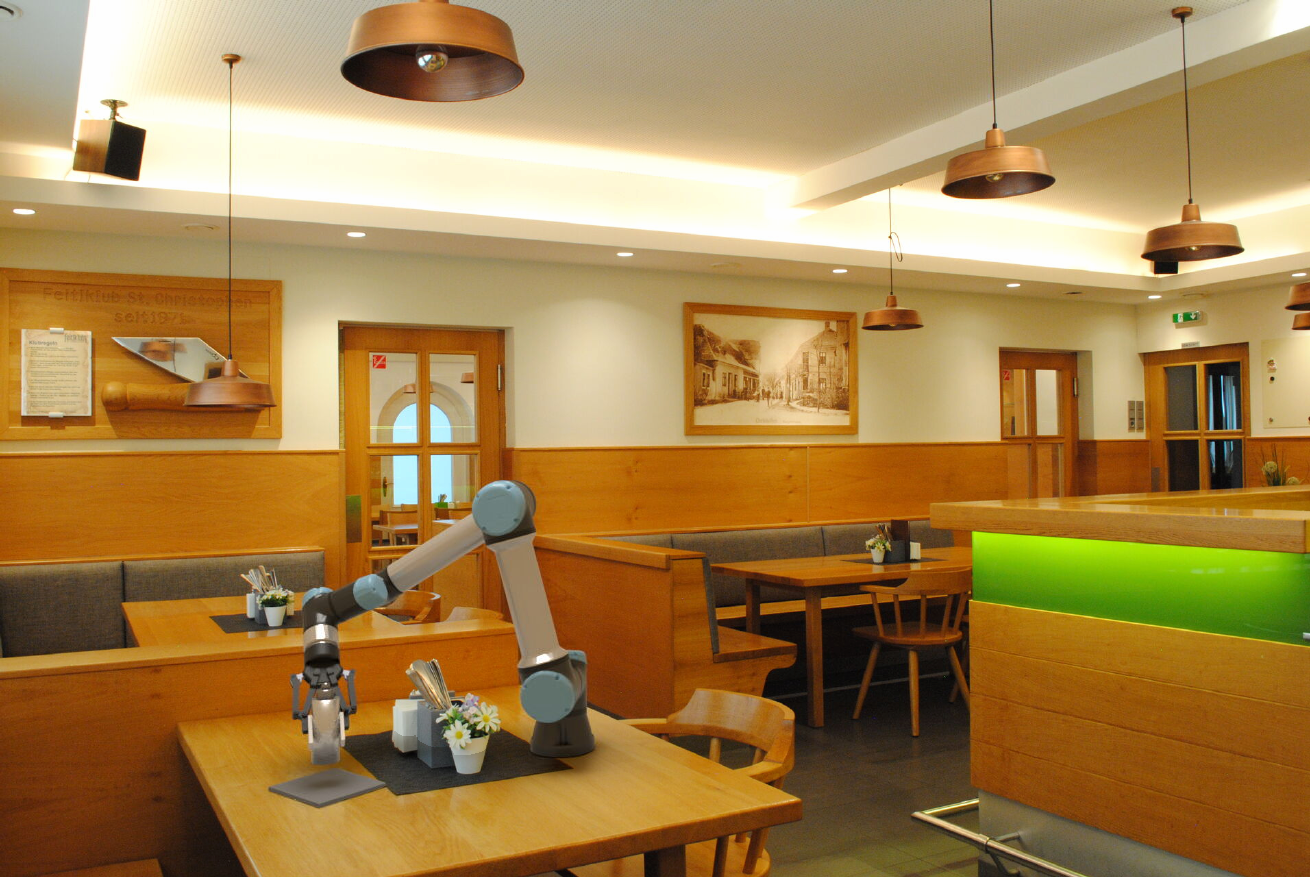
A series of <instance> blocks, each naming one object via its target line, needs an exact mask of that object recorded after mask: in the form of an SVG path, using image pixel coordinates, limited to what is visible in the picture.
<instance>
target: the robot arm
mask: <svg viewBox="0 0 1310 877" xmlns="http://www.w3.org/2000/svg"><path fill="white" fill-rule="evenodd" d="M537 503H538V502H537V498H536V495H535V493H534V491H533V490H532V489H531V487H530V486H528V485H527V484H526V483H524V482H522V481H520V480H519V481H518V480H514V479H513V480H511V479H510V480H502V479H501V480H495V481H493V482H490V483H488V484H486V485H485V486H483V487H482V488H481V489H480V490H479V491H478V492H477V493H476V495H475V497H474V498H473V501H472V506H471V513H470V514H468V515H467V516H465V517H464V518H462V519H460V520H459V521H457V522H455V523H453V524H452V525H451V526H449V527H448V528H446V529H444V530H443V531H442V532H439V533H438V534H437V535H435V536H433V537H432V538H430V539H429V540H427V541H425V542H424V543H422V544H421V545H419V546H417V547H416V548H415V549H413V550H411V551H409V552H408V553H407V554H405V555H403V556H402V557H400V558H398V559H397V560H395V561H393V562H392V563H390V564H389V565H387V566H386V567H384V568H382V569H381V570H379V571H378V572H376V573H371V574H368V575H364V576H362V577H359V578H357V580H354V581H352V582H349V583H347V584H346V585H343V586H342V587H339V588H338V589H336V590H333V589H331V588H329V587H325V586H320V587H319V588H317V587H314V588H311V589H309V590H308V591H306V592H305V593H304V594H303V597H302V600H301V610H300V611H301V612H300V614H301V620H302V631H303V632H302V641H303V642H302V643H303V644H302V648H303V649H302V650H303V670H302V671H301V673H299V674H296V673H291V674H290V676H289V677H290V678H289V684H290V686H291V688H292V712H291V713H292V714H291V715H292V716H291V717H292V720H293V721H297V720H299V721H300V722H301V734H302V735H307V742H308V743H307V746H308V747H307V748H308V751H311V750H312V749H313V732H312V714H310V712H311V711H312V698H315V697H316V695H317V689H318V688H321V685H322V684H323V683H324V682H328V683H329V684H330V687H334V688H335V696H339V697H340V747H345V744H346V732H345V731H349V729H350V716H351V715H356V714H357V711H358V702H357V701H358V700H357V693H356V686H355V677H356V669H355V668H351V669H350V670H347V669H344V668H343V666H342V665H341V652H340V641H339V640H340V639H339V625H340V624H343V623H345V622H348V621H349V620H352V619H354V618H357V617H359V616H361V615H364V614H366V613H368V612H371V611H374V610H375V609H378V608H380V607H382V606H386V605H388V604H390V603H393V602H394V601H395V600H396V599H397V598H398V597H401V596H402V595H403V594H404V593H406V592H407V591H409V590H411V589H412V588H413V587H415V586H417V585H419V584H420V583H422V582H424V581H425V580H427V579H428V578H430V577H432V576H433V575H435V574H436V573H437V572H440V571H441V570H443V569H445V568H446V567H448V566H449V565H450V564H453V563H454V562H456V561H457V560H459V559H461V558H462V557H463V556H465V555H467V554H469V553H471V552H472V551H473V550H474V549H477V548H478V547H480V546H482V545H483V544H484V545H485V547H486V548H487V549H489V550H490V551H492V552H493V553H494V555H495V558H496V559H495V560H496V562H497V566H498V569H499V575H500V578H501V581H502V586H503V589H504V593H505V596H506V601H507V604H508V608H509V609H508V610H509V613H510V616H511V617H510V618H511V621H512V624H513V628H514V631H515V636H516V638H517V643H518V647H519V650H520V656H521V658H520V660H519V661H518V663H517V665H516V666H517V670H518V674H519V677H520V683H521V687H520V704H521V706H522V708H523V710H524V712H525V713H526V714H527V715H528V717H530V718H532V719H533V720H535V725H534V727H533V730H532V736H531V737H530V742H529V743H530V747H529V748H530V749H529V750H530V752H532V754H535V755H537V756H540V757H547V758H567V757H569V758H570V757H577V756H581V755H585V754H588V753H591V752H592V751H593V750H595V747H596V744H595V743H596V740H595V735H594V733H593V731H592V728H591V723H590V721H589V720H590V719H589V716H588V697H587V696H588V693H587V692H588V689H587V688H588V685H587V684H588V682H587V680H588V679H587V677H588V676H587V666H588V661H587V655H586V653H585V651H583V650H576V649H575V650H574V649H565V648H563V647H561V645H560V644H559V641H558V636H557V632H556V628H555V624H554V621H553V617H552V613H551V610H550V605H549V601H548V598H547V594H546V590H545V586H544V583H543V582H544V581H543V579H542V575H541V570H540V566H539V564H538V560H537V557H536V552H535V548H534V544H533V541H534V539H535V537H536V535H537V533H538V532H537V529H536V525H535V521H534V517H535V515H536V513H537ZM342 677H343V678H344V681H345V682H347V688H346V689H347V694H348V703H349V706H348V704H347V702H346V699H345V697H344V695H343V693H342V691H341V688H340V686H339V680H341V678H342ZM302 680H304V681H305V682H306V683H307V684H308V685H309V688H308V691H307V695H306V699H305V701H304V705H303V707H302V710H300V686H301V684H302Z"/></svg>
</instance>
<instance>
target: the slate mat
mask: <svg viewBox="0 0 1310 877" xmlns="http://www.w3.org/2000/svg"><path fill="white" fill-rule="evenodd" d="M384 786H386V787H387V782H384V781H381V780H377V779H374V778H372V777H367V776H364V775H361V774H357V773H354V772H351V771H348V770H345V769H341V768H338V767H333V768H330V769H326V770H322V771H318V772H316V773H311V774H309V775H305V776H302V777H299V778H294V779H291V780H288V781H285V782H284V781H283V782H279V783H276V784H273V785H270V786H268V791H269V792H271V793H274V794H277V793H278V794H277V795H280V796H283V795H284V796H283V797H285V798H288V797H289V798H290V799H292V800H294V799H296V800H295V801H297V800H298V802H300V801H301V802H300V803H302V804H303V803H304V804H306V803H307V804H306V805H309V806H312V807H315V808H318V809H320V808H324V807H327V806H330V805H333V803H334V804H336V803H339V801H340V802H342V801H345V800H344V799H346V800H349V799H353V798H355V797H358V795H359V796H361V795H364V794H368V793H371V792H374V791H373V790H375V791H377V789H378V790H380V789H379V788H381V789H384V788H385V787H384ZM383 787H384V788H383ZM352 797H353V798H352ZM289 798H288V799H289Z"/></svg>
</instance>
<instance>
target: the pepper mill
mask: <svg viewBox="0 0 1310 877" xmlns="http://www.w3.org/2000/svg"><path fill="white" fill-rule="evenodd" d="M311 715H312V732H313V749H312V750H310V751H311V759H310V760H311V764H312V765H315V766H329V765H335V764H336V763H338V762H340V756H341V755H340V754H341V753H340V752H341V748H340V747H341V746H340V697H339V696H335V688H334V687H330V684H329V683H328V682H324V683H323V684H322V685H321V688H318V689H317V690H316V696H314V698H312V706H311Z"/></svg>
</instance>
